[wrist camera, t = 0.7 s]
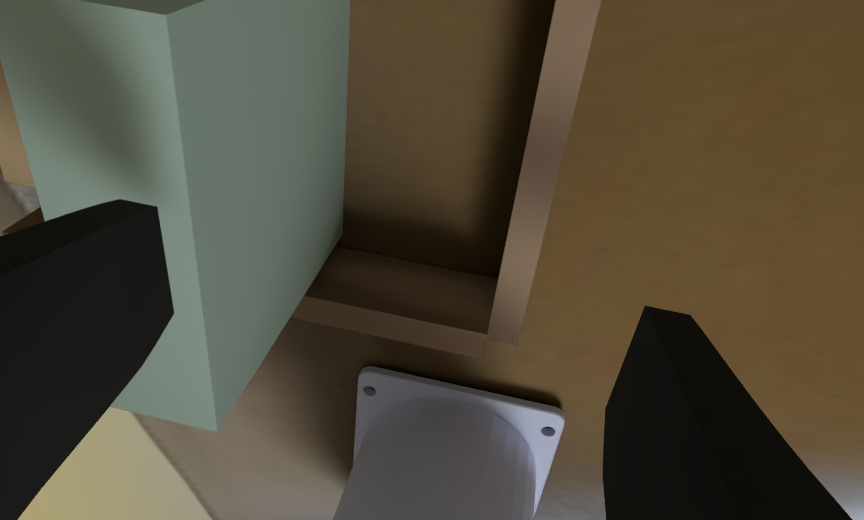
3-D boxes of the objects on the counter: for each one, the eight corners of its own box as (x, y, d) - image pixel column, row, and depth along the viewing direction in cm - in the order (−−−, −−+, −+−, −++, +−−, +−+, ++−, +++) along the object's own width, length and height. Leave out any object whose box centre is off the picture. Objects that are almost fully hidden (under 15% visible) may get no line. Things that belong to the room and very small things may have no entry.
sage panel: (342, 234, 21) (217, 432, 14) (260, 217, 22) (94, 402, 14) (352, -56, 16) (165, 15, 9) (245, -72, 17) (-20, -16, 9)
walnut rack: (521, 308, 22) (514, 366, 19) (70, 214, 23) (9, 257, 21) (616, -86, 15) (623, -75, 12) (-26, -175, 17) (-131, -180, 14)
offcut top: (117, 185, 20) (94, 202, 19) (31, 165, 20) (4, 181, 19) (83, -36, 17) (52, -29, 16) (-21, -57, 17) (-59, -51, 16)
